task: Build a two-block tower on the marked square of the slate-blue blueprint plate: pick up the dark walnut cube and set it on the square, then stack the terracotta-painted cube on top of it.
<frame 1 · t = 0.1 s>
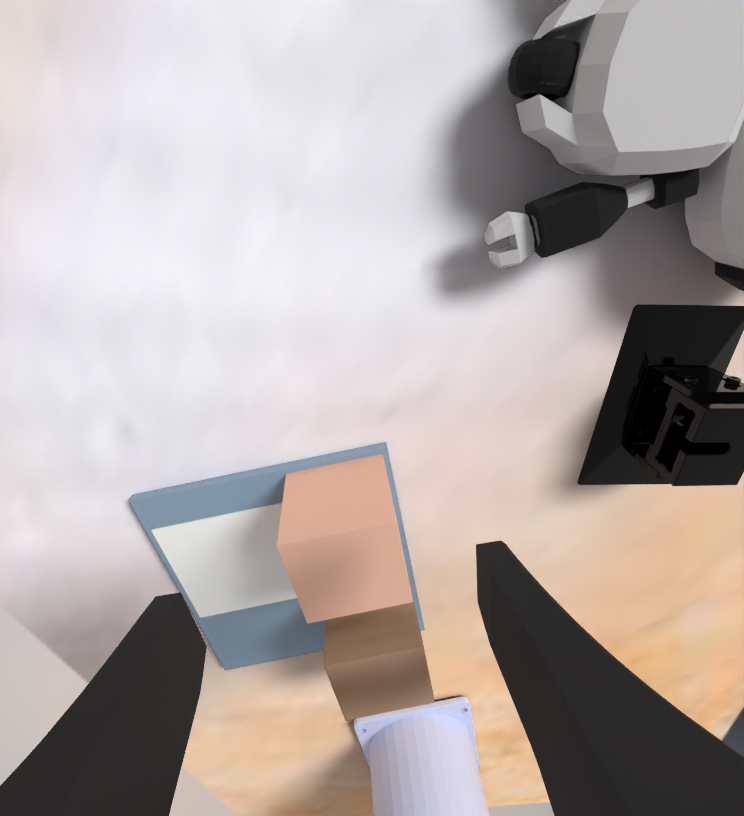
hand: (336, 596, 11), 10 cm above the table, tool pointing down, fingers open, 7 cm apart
blueprint plate: (295, 566, 24), on the table
terracotta block: (344, 501, 22), resting on blueprint plate
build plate: (648, 396, 22), on the table
robot toy: (691, 104, 16), on the table
walnut block: (373, 604, 25), resting on blueprint plate
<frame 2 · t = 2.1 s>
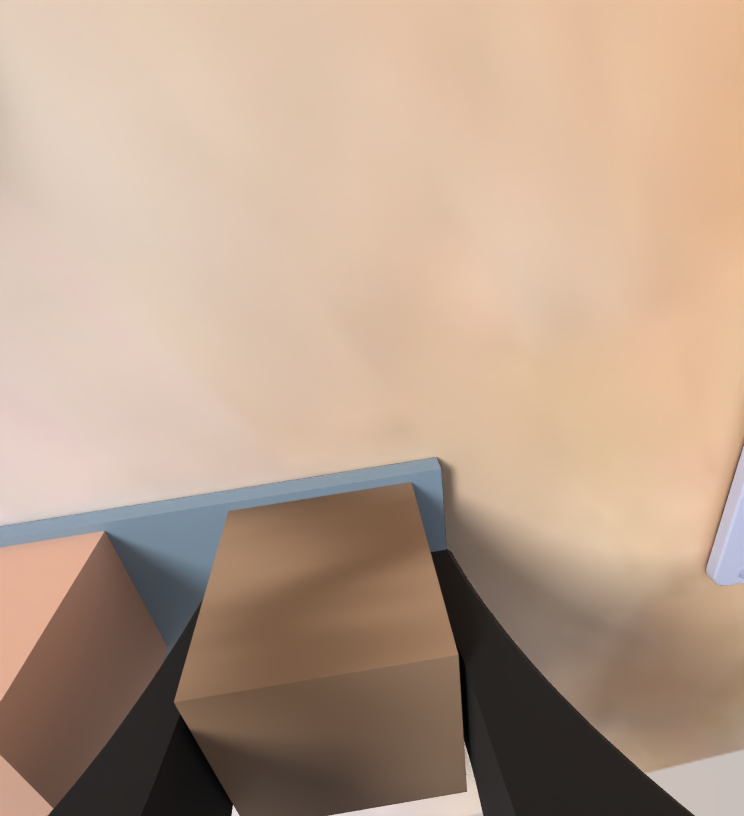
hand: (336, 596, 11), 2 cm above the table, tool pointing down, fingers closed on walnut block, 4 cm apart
blueprint plate: (242, 648, 14), on the table
terracotta block: (53, 608, 12), resting on blueprint plate
walnut block: (335, 562, 12), resting on blueprint plate, touching gripper
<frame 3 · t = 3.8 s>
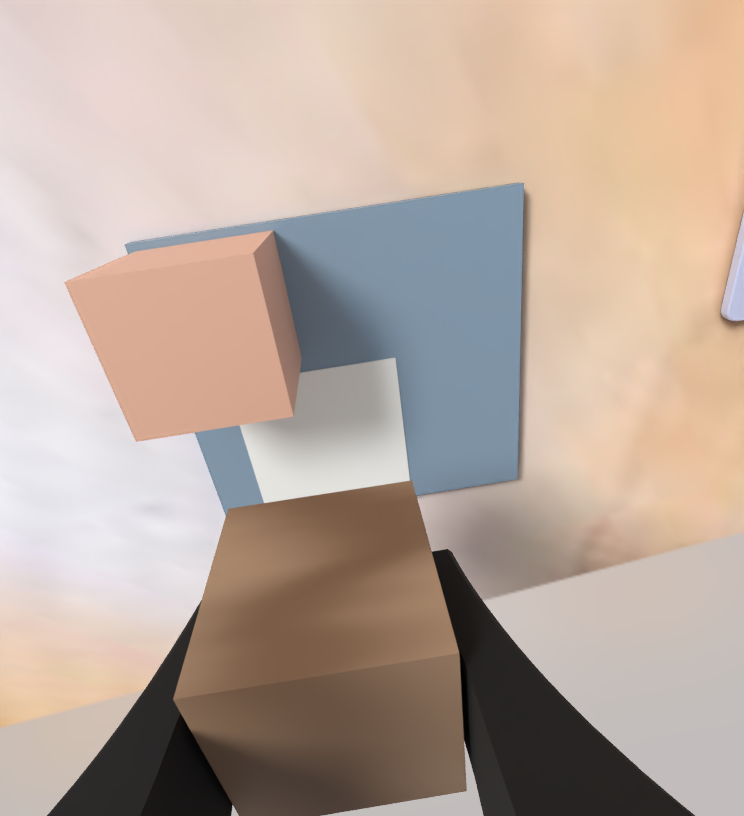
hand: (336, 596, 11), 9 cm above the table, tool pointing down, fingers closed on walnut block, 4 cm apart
blueprint plate: (352, 376, 18), on the table
terracotta block: (224, 308, 16), resting on blueprint plate
walnut block: (335, 560, 12), point 8 cm above the table, touching gripper
when the fingers open (3 cm above the table, at t = 5.4 s): walnut block drops 1 cm, resting on blueprint plate.
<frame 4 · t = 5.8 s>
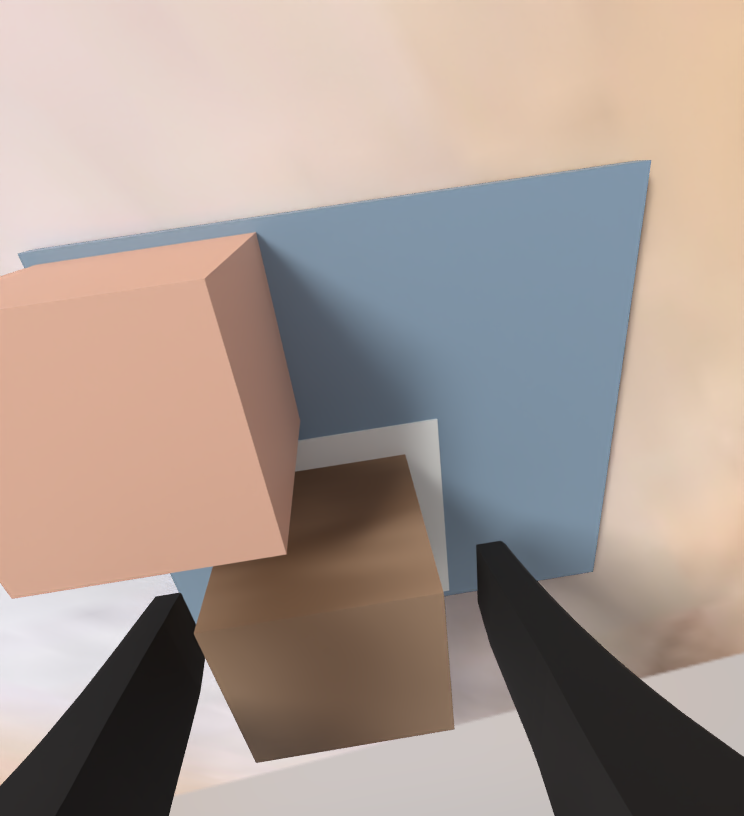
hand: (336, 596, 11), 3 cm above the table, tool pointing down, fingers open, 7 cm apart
blueprint plate: (373, 441, 13), on the table
terracotta block: (182, 351, 10), resting on blueprint plate
walnut block: (335, 530, 13), point 1 cm above the table, touching blueprint plate
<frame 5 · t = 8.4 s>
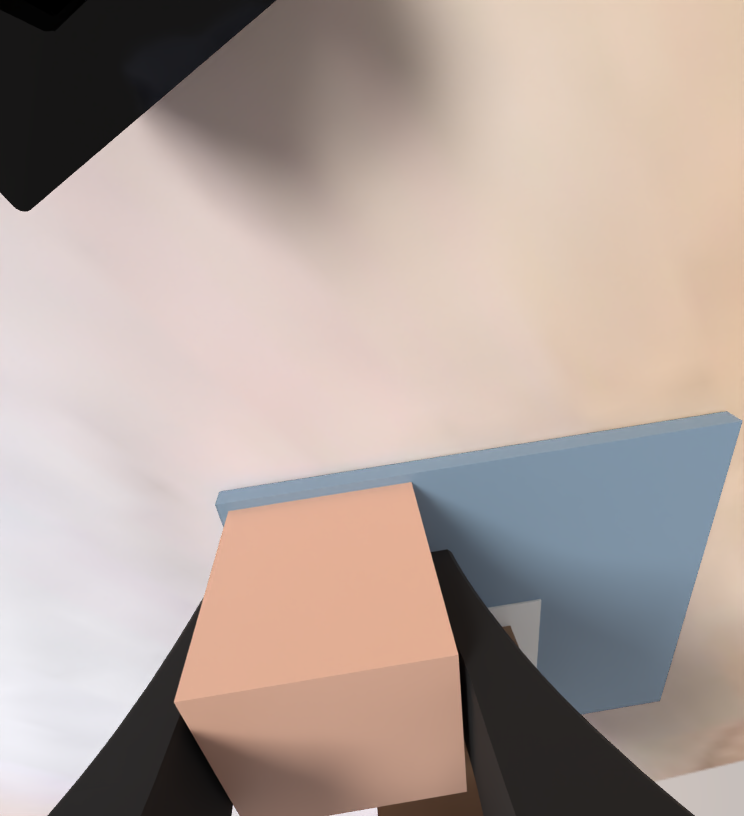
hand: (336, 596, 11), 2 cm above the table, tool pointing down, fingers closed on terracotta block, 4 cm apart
blueprint plate: (479, 609, 14), on the table
terracotta block: (335, 562, 12), resting on blueprint plate, touching gripper
walnut block: (441, 681, 15), point 1 cm above the table, touching blueprint plate
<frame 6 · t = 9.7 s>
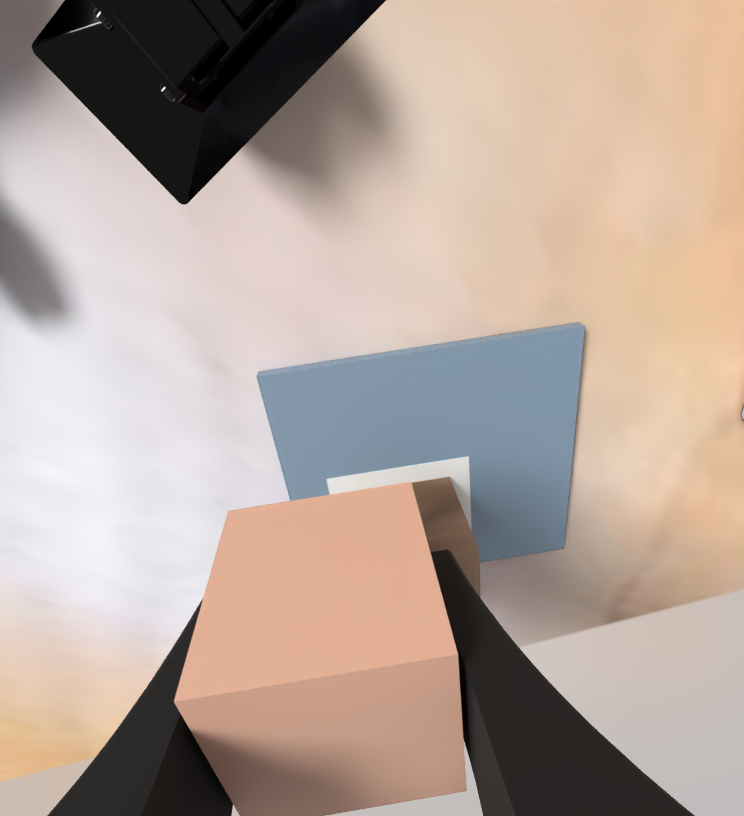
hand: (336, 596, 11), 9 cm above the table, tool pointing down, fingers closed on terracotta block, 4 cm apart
blueprint plate: (429, 468, 21), on the table
terracotta block: (335, 562, 12), point 8 cm above the table, touching gripper
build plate: (221, 21, 14), on the table
walnut block: (405, 522, 22), point 1 cm above the table, touching blueprint plate
when the fingers open (7 cm above the table, at t = 11.2 s): terracotta block drops 1 cm, resting on walnut block.
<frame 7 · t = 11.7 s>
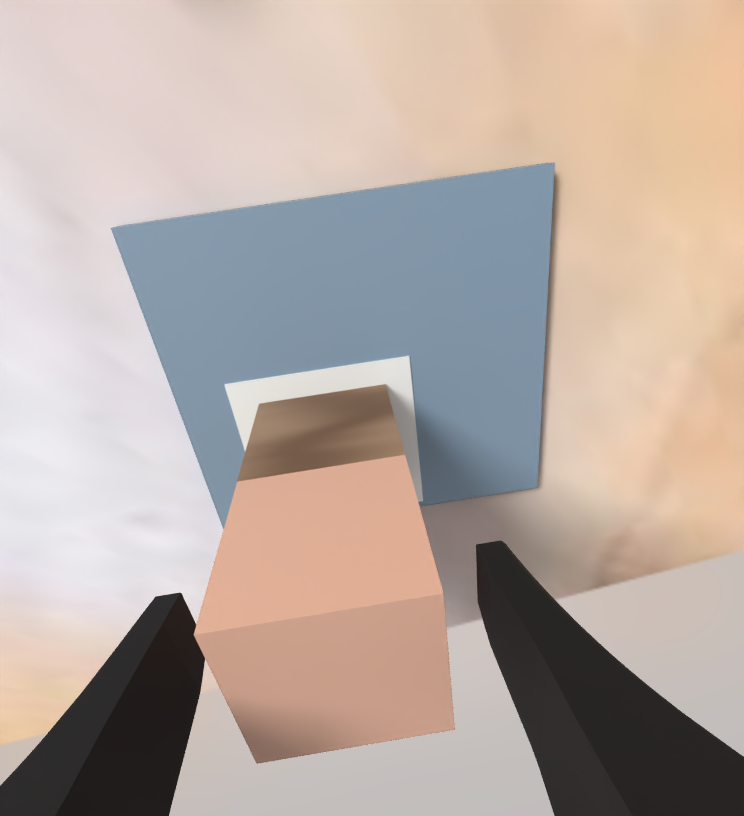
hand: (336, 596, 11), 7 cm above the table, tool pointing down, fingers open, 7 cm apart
blueprint plate: (362, 375, 17), on the table
terracotta block: (335, 531, 13), point 5 cm above the table, touching walnut block
walnut block: (333, 447, 17), point 1 cm above the table, touching blueprint plate, terracotta block
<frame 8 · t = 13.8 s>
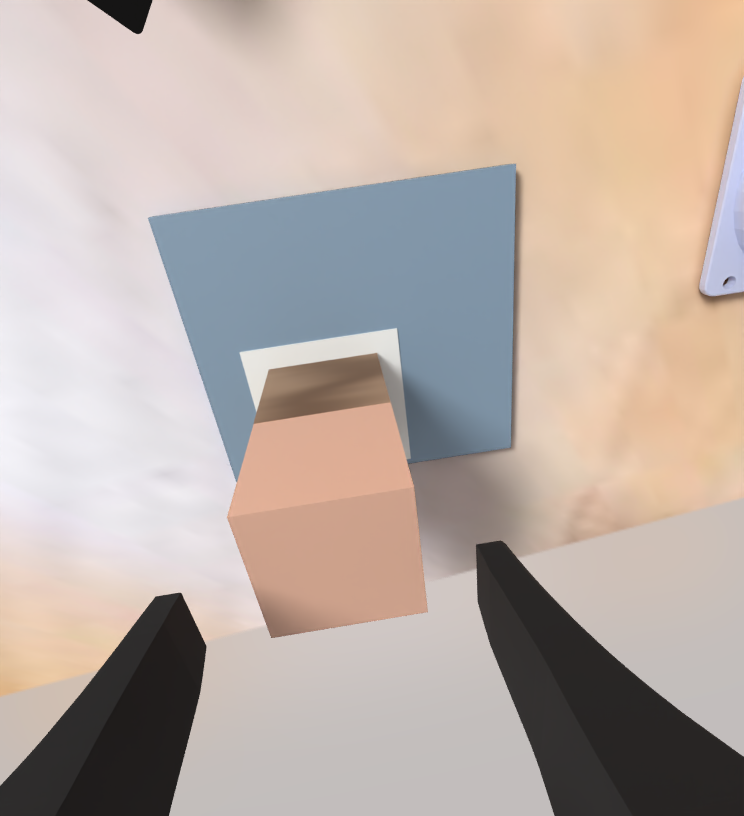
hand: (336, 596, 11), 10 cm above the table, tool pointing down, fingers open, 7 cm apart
blueprint plate: (357, 346, 19), on the table
terracotta block: (334, 469, 16), point 5 cm above the table, touching walnut block
walnut block: (332, 408, 20), point 1 cm above the table, touching blueprint plate, terracotta block
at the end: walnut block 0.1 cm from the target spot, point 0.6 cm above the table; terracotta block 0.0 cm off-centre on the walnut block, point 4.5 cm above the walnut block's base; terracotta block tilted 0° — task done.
